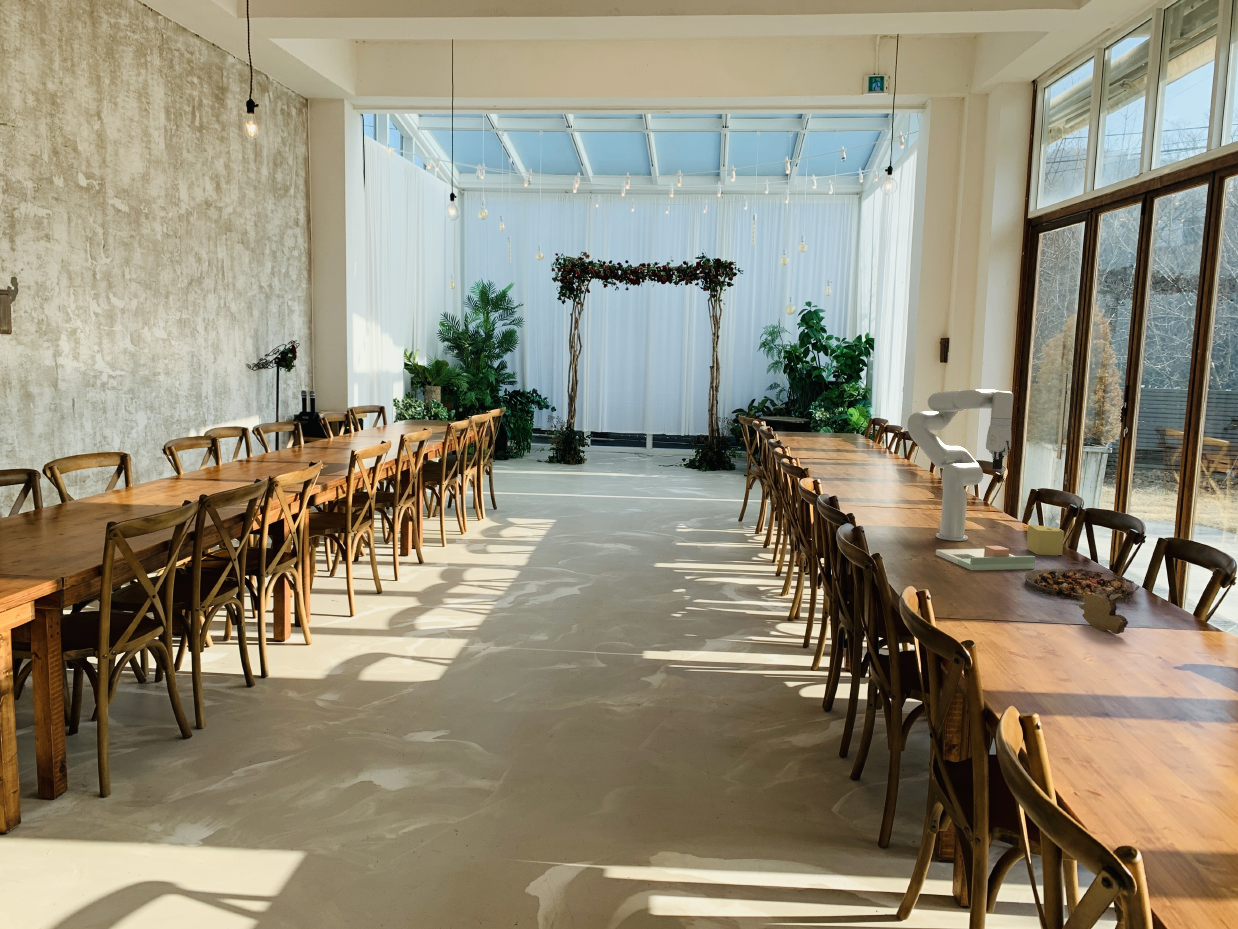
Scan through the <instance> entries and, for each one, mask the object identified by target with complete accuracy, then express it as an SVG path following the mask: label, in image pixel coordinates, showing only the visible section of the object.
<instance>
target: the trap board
mask: <svg viewBox="0 0 1238 929" xmlns="http://www.w3.org/2000/svg"><path fill="white" fill-rule="evenodd" d="M984 549H985V548H951V549H947V548H946V549H945V548H944V549H935V550H936V551H935V556H938V557H940V558H942V559H945V560H947V561H949V562H952V563H954V564H955V565H958V566H960V567H963V568H965V569H968V570H970V571H989V570H990V571H992V570H993V571H995V570H998V571H999V570H1031V569H1032V570H1034V569H1035V564H1036V556H1034V555H1015V554H1014V555H1013V554H1011V553H1009V557H984Z"/></svg>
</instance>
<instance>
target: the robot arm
mask: <svg viewBox="0 0 1238 929" xmlns="http://www.w3.org/2000/svg"><path fill="white" fill-rule="evenodd" d="M1013 405H1014V393H1013V392H1012V391H1007V390H997V389H986V388H985V389H984V388H983V389H965V390H961V389H959V390H947V391H937V392H935V393H932V394H930V396H929V397H928V399H927V406H928V408H929V409H931V410H925V411H924V410H923V411H916V412H913V413H912V414H910V415H909V417H908V419H907V432H908V434H909V436H910V438H911V440H913V441H914V442H915V444H916V445H917V446H918V447H919V448H920V449H921V450H922V451H923V453H924V454H925V456H927V457H928V459H929V460H930V461H931V463H932V464H933V465H934V466H935V467H936V468H938V469H942V471H941V480H942V481H941V482H942V483H941V484H942V501H941V516H940V517H941V519H940V525H939V526H937V529H938V530H939V532H937V533H935V537H936V538H938V539H940V540H944V541H950V542H953V541H954V542H963V541H968V540H969V536H968V535H966V534H965V530H966V519H967V518H966V517H967V516H966V514H967V505H968V504H967V501H968V496H967V495H968V494H967V492H966V490H965V486H966V487H969V486H976V485H979V484H980V483H981V482H982V481H983V479H984V472H983V468H982V467H981V465H980V464H979V462H978V461H977V460H976V459H975V458H974V457H973V456H972V455H971V454H970V453H969V451H968V450H967V449H966V448H964V447H962V446H960V445H947V444H945V443H944V442H943V441H942V440H941V438H939V436H937V435H936V434H934V433H933V432H931V431H934V432H935V431H942V430H944V429H945V428H946V427H947V426H948V425H949V424H950V423H951V421H952V420H953V419H954V418H955V416H957V414H958V413H959V412H961V411H964V410H970V409H975V410H976V409H991V410H990V421H989V422H990V424H989V426H988V431H987V435H986V442H985V449H986V450H987V451H988V452H989V453H990V454H991V457H992V466H991V467H992V470H1003V463H1004V462H1003V461H1004V460H1005V457H1007V456H1009V452H1010V451H1011V449H1012V448H1011V447H1012V419H1013V418H1012V417H1013V407H1014V406H1013Z"/></svg>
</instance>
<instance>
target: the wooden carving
mask: <svg viewBox="0 0 1238 929" xmlns="http://www.w3.org/2000/svg"><path fill="white" fill-rule="evenodd" d="M1083 602H1084V603H1083V604H1079V605H1078V608H1079V609H1080V610H1083V614H1082V615H1081V616H1082V618H1083V619H1084V620H1085V621H1086V623H1088V625H1090V626H1091V627H1092V628H1094V629H1096V630H1098V631H1101V632H1102V631H1103V632H1104V631H1105V632H1106V631H1110V632H1111V633H1112V634H1115V635H1118V634H1123V633H1124V632H1125V628H1126V627H1127V625H1128V624H1129V621H1128V620H1127V618H1126V617H1125V616H1123V615H1121V614H1117V605H1116V604H1117V603H1116V604H1115V602H1114V601H1111V600H1110V599H1109V598H1108V597H1106V596H1105V595H1101V594H1094V595H1093V594H1086V595H1085V597H1084V601H1083Z"/></svg>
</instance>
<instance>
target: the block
mask: <svg viewBox="0 0 1238 929" xmlns="http://www.w3.org/2000/svg"><path fill="white" fill-rule="evenodd" d="M983 549H984V557H1009V554H1010V550H1011V549H1009V548H1006V547H1004V546H1001V545H985V546H984V548H983Z"/></svg>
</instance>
